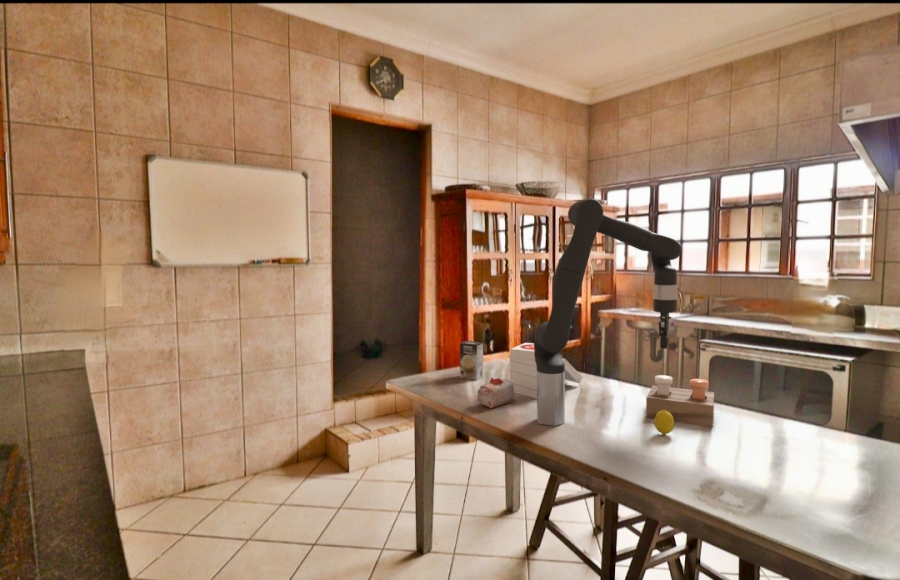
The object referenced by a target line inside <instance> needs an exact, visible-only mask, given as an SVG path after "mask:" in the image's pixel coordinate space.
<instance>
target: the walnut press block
mask: <svg viewBox="0 0 900 580" xmlns="http://www.w3.org/2000/svg"><path fill="white" fill-rule="evenodd" d="M645 402H646V407H645V408H646V411H645V415H646V416H645V418H647V419H654V420H655V416H656V414H657V413H658V412H659V411H663V410H666V411H668V412H669V413H671V415H672V416H673V419H674V423H675V422H676V423H682V424H687V425H688V424H689V425H698V426H704V427H711V428H712V427H713V425H714V414H715V411H714V410H715V404H714V403H715V392H714V391H706V390H705V400H704V399H695V398H692V389H686V388H677V387H670V396H669V395H661V394H657V385H652V386H651V387H650V390H649V391H648V394H647V396H646V401H645Z"/></svg>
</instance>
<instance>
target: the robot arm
mask: <svg viewBox="0 0 900 580" xmlns="http://www.w3.org/2000/svg"><path fill="white" fill-rule="evenodd" d="M567 217H568V221H569V222H570V223H571V225H572V226H573V227H574V228H573V231H572V232H573V233H572V236H571V239H570V240H569V243H568V245H567V246H566V248H565V249H564V251H563V253H562V255H561V257H560V259H559V260H558V263H557V266H556V269H555V272H554V277H553V280H552V287H551V288H552V306H551V307H552V308H551V312H550V314H549V318H548V321H544V322H541V323H540V324H539V325H538V326H536V328H535V331H534V335H533V336H534V337H533V343H534V355H535V362H536V366H537V399H536V421H537V424H540V425H546V426H551V427H557V426H559V425H562V424H564V423H565V422H566V420H565V418H566V417H565V414H566V408H565V407H566V405H565V401H566V399H565V396H566V395H565V394H566V392H565V391H566V388H565V386H566V384H565V382H566V380H565V364H564V362H563V360H562V358H563V356H562V353H561V352H562V351H563V350H564V349H565V348H566V347H567V345H568V342H569V339H570V333H571V327H572V326H571V325H572V321H573V316H574V311H575V308H576V305H577V301H578V297H579V295H580V291H581V288H582V286H583V283H584V282H583V281H584V278H585V274H586V270H587V266H588V263H589V259H590V255H591V252H592V247H593V244H594V241H595V238H596V237H597V235H598V233H599V234H602V235H605V236H607V237H610V238H612V239H614V240H616V241H618V242H621V243H623V244H626V245H627V246H630V247H632V248H634V249H637V250H639V251H643V252H649V253H650V259H651V262H652V266H653V270H654V279H653V281H654V283H653V285H654V286H653V295H652V296H653V297H652V298H653V300H652V301H653V302H652V310H653V311H654V312H656V313H659V316H658V317H657V322H658V336H659V340H660V341H659V342H660V344H659V348H660V349H662V350H663V349H664V350H666V349H668V347H669V336H670V332H671V331H670V330H671V329H672V328H671V323H672V316H670V313H676V312H677V311H678V288H677V287H678V286H677V284H678V283H677V279H678V277H677V276H678V275H677V269H676V268H675V267H673V266H672V263H671V261H674V260H677V259H678V258H679V257H680V256H681V254H682V252H683V249H682V245H681V244H680V242H679V241H677V240H676V239H674V238H672V237H669V236H666V235H663V234H659V233H655V232H653V231H651V230H649V229H647V228H644V227H642V226H640V225H637V224H635V223H633V222H630V221H629V222H628V221H624V220H621V219H617V218H613V217H611V216H609V215H606V214H604V209H603V205H602V203H601V202H600V201H599V200H597V199H594V198H586V199H582V200H579V201H575V202H574V203H573V204H572V205H570V207H569V209H568V212H567ZM561 356H562V357H561Z"/></svg>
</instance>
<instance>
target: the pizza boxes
mask: <svg viewBox="0 0 900 580" xmlns="http://www.w3.org/2000/svg"><path fill="white" fill-rule="evenodd" d="M509 351H510V354H509V355H508V356H509V380H510V381H511V382H513V387H514V393H516V394H520V395H523V396H525V395H526V396H525V397H528V396H529V398H532V397H533V398H532V399H535V398H536V399H535V400H537V366H536V362H535V355H534V342H524V343H521V344H519V345H517V346H514V347H512V348H510V349H509ZM561 357H562V360H563V362H564V364H565V381H569V382H573V383H577V384H580V383H581V381H582V379H583V376H582V375H581V374H580V372H578V370H576V369H575V367H574V366H573V365H572V364H571V363H570V362H569V361H568V360H567V359H566V358H563V355H561Z"/></svg>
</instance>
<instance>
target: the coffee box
mask: <svg viewBox="0 0 900 580" xmlns="http://www.w3.org/2000/svg"><path fill="white" fill-rule="evenodd" d="M459 378H460V379H466V380H473V381H478V380H480V379H482V378H484V342H479V341H473V340H465V341H462V342H459Z"/></svg>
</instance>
